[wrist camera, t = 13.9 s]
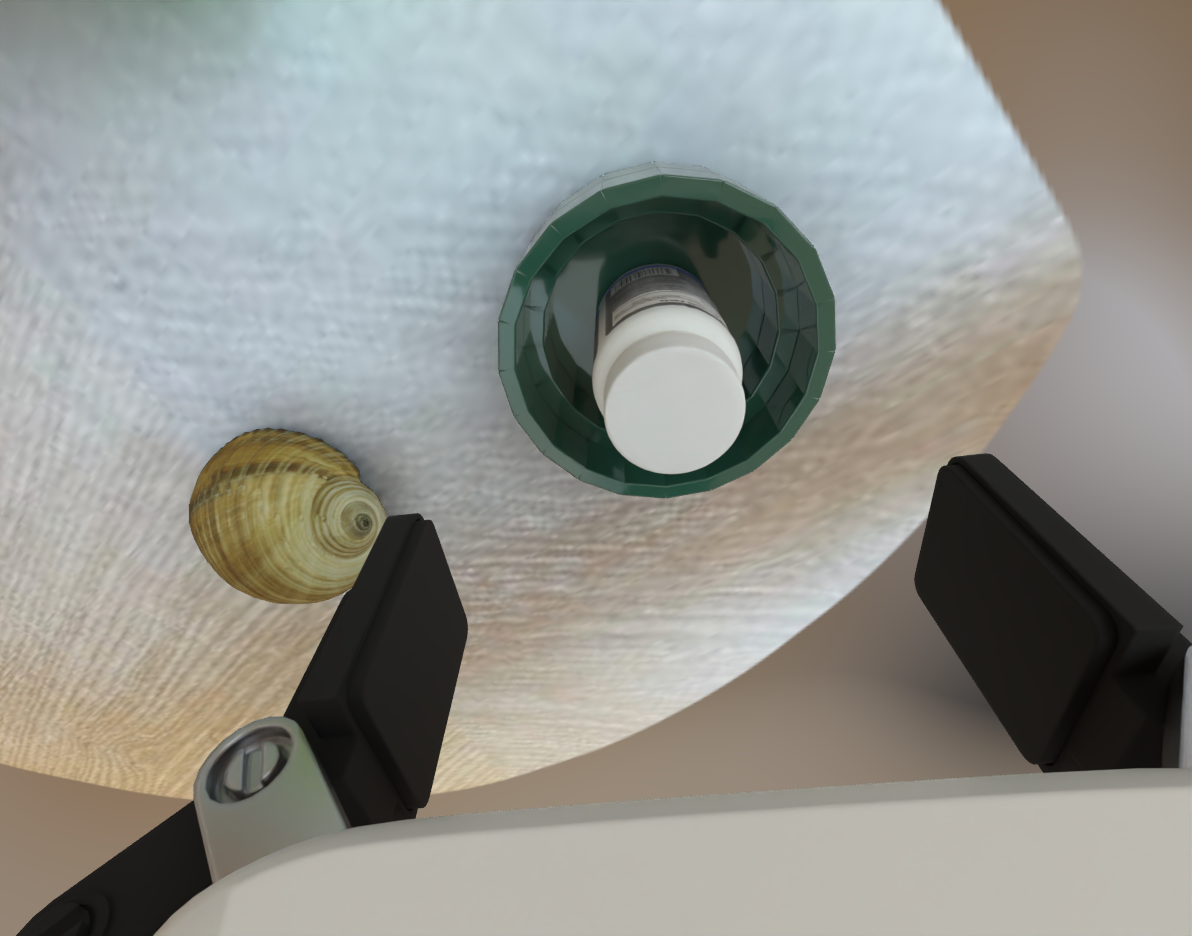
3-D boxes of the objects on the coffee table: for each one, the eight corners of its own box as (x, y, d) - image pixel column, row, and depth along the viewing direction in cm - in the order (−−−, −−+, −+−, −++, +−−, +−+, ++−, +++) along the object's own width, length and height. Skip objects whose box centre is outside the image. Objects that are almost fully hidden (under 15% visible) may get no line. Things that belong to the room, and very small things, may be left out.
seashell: (287, 477, 33) (281, 620, 31) (151, 444, 27) (128, 620, 25) (418, 432, 30) (422, 592, 27) (293, 383, 23) (284, 583, 21)
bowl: (483, 382, 26) (458, 437, 21) (578, 104, 20) (570, 104, 16) (709, 468, 28) (727, 534, 23) (852, 238, 22) (909, 270, 18)
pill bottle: (679, 393, 25) (707, 508, 18) (577, 350, 24) (564, 454, 17) (736, 290, 23) (794, 376, 16) (626, 239, 22) (634, 305, 15)
